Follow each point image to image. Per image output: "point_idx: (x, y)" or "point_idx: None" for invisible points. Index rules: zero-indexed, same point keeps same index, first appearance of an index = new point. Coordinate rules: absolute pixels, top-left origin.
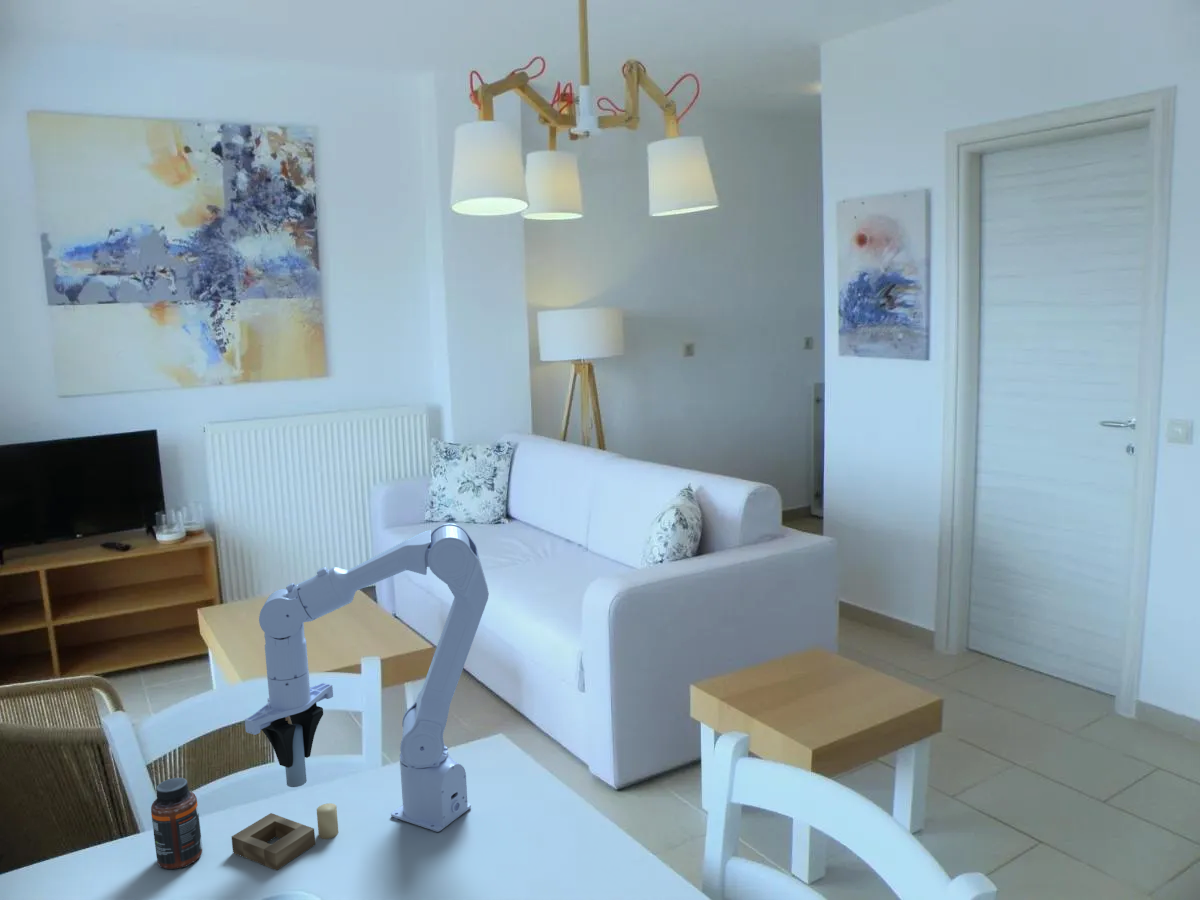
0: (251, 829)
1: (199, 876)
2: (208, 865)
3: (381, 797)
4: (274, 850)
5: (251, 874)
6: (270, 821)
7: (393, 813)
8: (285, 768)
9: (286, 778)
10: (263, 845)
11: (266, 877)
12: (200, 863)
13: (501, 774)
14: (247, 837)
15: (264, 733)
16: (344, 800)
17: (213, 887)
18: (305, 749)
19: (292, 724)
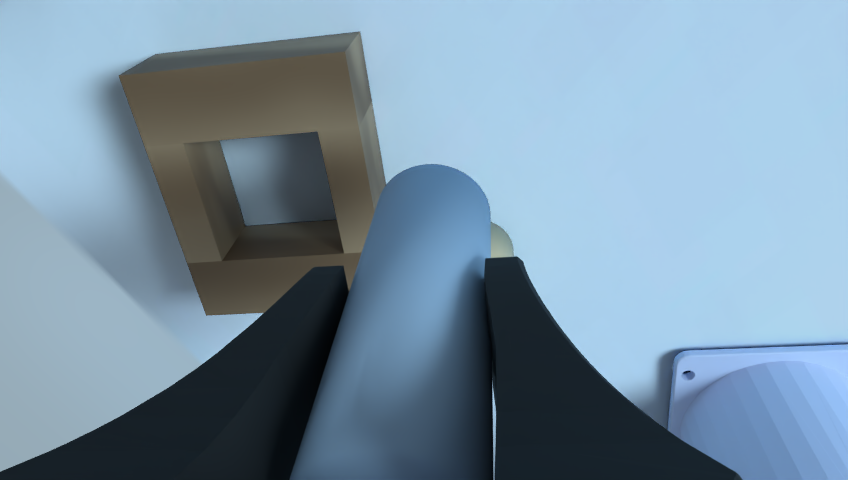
0: (210, 101)
1: (4, 87)
2: (50, 48)
3: (796, 225)
4: (213, 298)
5: (158, 229)
6: (303, 116)
7: (685, 365)
8: (366, 243)
9: (374, 214)
10: (197, 242)
11: (189, 279)
12: (26, 5)
13: None
14: (171, 142)
15: (85, 437)
16: (708, 110)
17: (32, 187)
18: (492, 376)
19: (449, 471)
